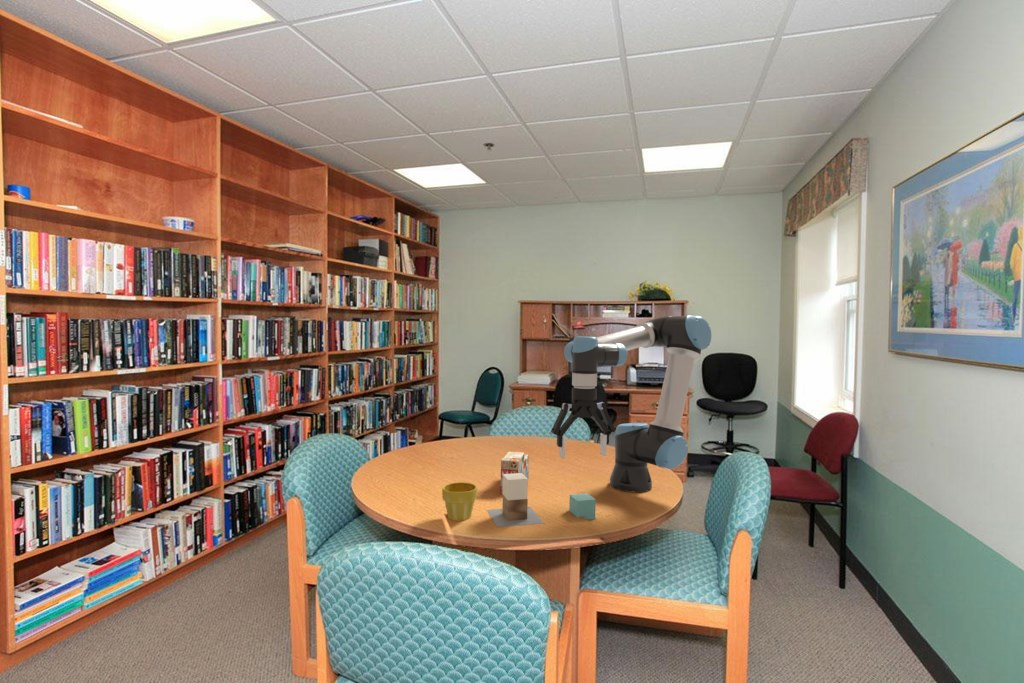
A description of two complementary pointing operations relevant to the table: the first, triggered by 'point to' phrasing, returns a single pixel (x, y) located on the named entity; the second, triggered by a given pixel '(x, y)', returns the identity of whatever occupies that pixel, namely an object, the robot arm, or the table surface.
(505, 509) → the walnut cube
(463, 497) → the plant pot
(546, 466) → the table surface
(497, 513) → the plate
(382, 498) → the table surface
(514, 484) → the cream cube
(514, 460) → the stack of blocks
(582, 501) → the teal cube
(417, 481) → the table surface
